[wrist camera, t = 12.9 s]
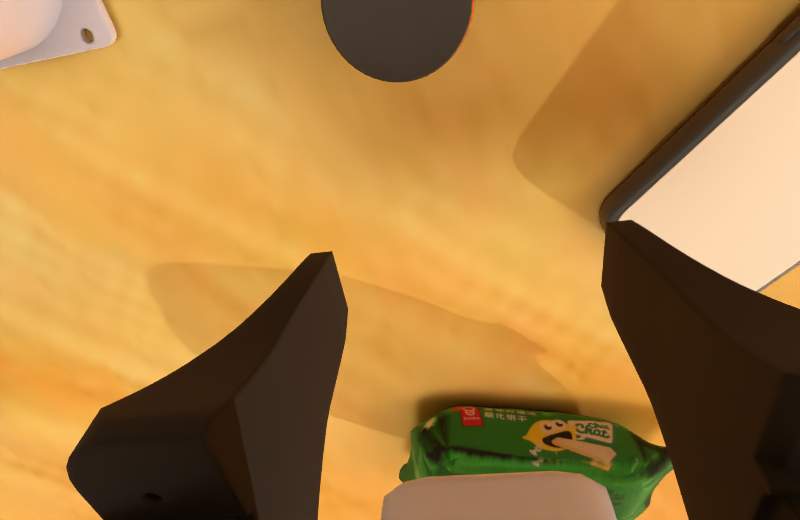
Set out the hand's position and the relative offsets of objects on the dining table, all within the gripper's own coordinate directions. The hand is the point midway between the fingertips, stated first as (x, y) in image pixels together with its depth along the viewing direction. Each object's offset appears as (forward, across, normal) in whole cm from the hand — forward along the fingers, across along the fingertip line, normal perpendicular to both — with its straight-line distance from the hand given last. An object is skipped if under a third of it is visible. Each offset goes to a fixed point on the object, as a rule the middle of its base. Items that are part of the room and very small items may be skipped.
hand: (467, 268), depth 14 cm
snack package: (+10, -3, +20) cm, 22 cm away
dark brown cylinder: (+9, +1, -6) cm, 11 cm away
